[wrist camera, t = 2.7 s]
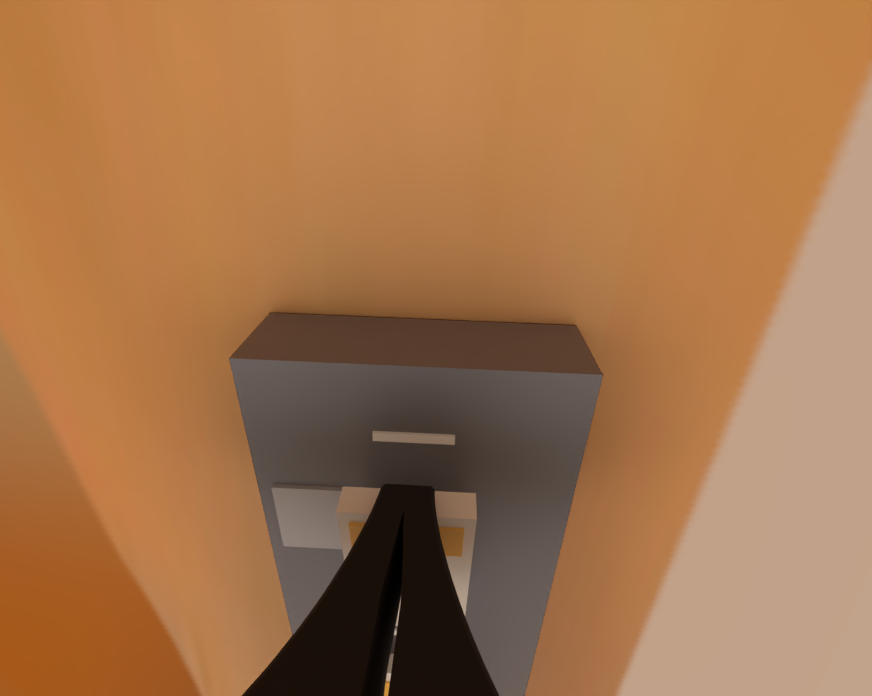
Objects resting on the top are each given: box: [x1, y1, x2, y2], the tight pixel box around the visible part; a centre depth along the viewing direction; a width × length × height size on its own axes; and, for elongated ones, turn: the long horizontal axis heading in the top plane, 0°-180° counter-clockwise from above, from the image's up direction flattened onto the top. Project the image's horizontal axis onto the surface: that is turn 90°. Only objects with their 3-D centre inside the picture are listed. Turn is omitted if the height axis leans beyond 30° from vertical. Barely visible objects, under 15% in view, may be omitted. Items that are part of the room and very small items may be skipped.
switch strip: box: [229, 313, 603, 696], centre depth 18 cm, size 22×10×3 cm, turn 179°
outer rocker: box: [336, 486, 477, 626], centre depth 13 cm, size 6×4×1 cm, turn 178°
